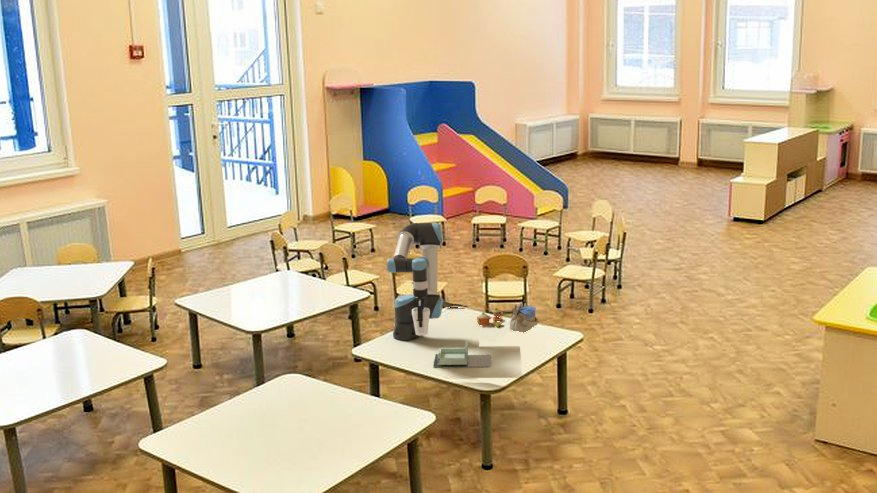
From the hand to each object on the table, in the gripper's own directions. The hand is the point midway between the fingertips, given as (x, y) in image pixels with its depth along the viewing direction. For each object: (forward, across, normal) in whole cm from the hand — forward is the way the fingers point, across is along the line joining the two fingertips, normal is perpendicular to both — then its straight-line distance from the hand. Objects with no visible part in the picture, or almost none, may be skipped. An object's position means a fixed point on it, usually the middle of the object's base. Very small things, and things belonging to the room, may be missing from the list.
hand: (421, 329), depth 453 cm
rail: (+16, +4, +22) cm, 27 cm away
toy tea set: (+18, -62, +36) cm, 73 cm away
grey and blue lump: (+18, -53, +56) cm, 79 cm away
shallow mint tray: (+16, +4, +16) cm, 23 cm away
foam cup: (+2, 0, 0) cm, 2 cm away
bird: (+19, -84, +13) cm, 87 cm away
